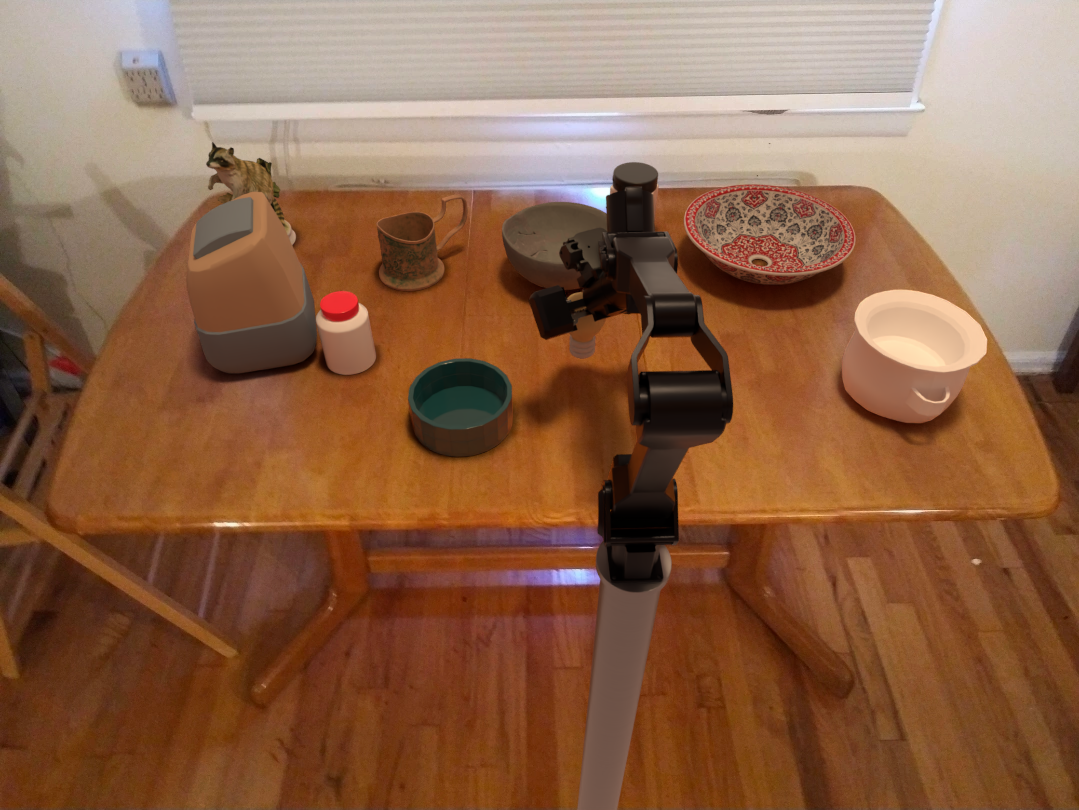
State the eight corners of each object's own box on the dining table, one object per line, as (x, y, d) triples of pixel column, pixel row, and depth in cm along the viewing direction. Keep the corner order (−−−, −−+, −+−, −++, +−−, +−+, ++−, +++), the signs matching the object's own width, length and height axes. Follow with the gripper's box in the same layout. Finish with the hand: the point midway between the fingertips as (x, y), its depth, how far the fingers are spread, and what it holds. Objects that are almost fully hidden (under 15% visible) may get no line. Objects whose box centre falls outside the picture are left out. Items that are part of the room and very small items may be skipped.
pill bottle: (335, 340, 125) (322, 284, 118) (382, 345, 124) (372, 288, 117) (319, 372, 120) (304, 315, 112) (368, 377, 119) (356, 320, 111)
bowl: (601, 322, 129) (605, 271, 122) (486, 298, 133) (483, 248, 126) (631, 257, 142) (636, 208, 135) (525, 237, 147) (525, 189, 140)
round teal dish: (513, 455, 108) (512, 428, 104) (408, 458, 107) (403, 430, 103) (512, 384, 118) (511, 357, 114) (417, 386, 117) (412, 359, 114)
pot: (817, 343, 125) (837, 280, 116) (926, 345, 124) (955, 282, 116) (851, 443, 109) (878, 379, 101) (976, 447, 109) (1014, 382, 100)
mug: (485, 266, 140) (482, 206, 132) (397, 298, 133) (388, 238, 125) (453, 237, 147) (448, 178, 139) (368, 267, 140) (357, 207, 132)
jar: (598, 226, 150) (602, 168, 141) (631, 213, 153) (636, 156, 145) (629, 247, 145) (634, 189, 136) (662, 234, 148) (669, 175, 140)
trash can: (214, 320, 129) (167, 193, 113) (317, 305, 132) (286, 179, 116) (210, 387, 117) (157, 256, 101) (323, 368, 120) (289, 238, 104)
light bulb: (605, 341, 116) (608, 284, 109) (602, 368, 112) (605, 311, 105) (562, 338, 117) (563, 282, 110) (558, 365, 112) (558, 308, 105)
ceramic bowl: (712, 207, 155) (718, 169, 150) (860, 247, 145) (873, 209, 139) (652, 281, 137) (657, 242, 131) (817, 333, 127) (829, 293, 121)
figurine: (215, 251, 144) (180, 148, 130) (266, 217, 152) (239, 117, 138) (262, 268, 140) (231, 164, 126) (312, 233, 148) (288, 132, 134)
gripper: (666, 205, 99) (617, 242, 114) (533, 240, 93) (500, 274, 108) (694, 289, 99) (642, 314, 114) (562, 329, 93) (526, 350, 108)
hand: (578, 311), depth 111 cm, fingers closed on light bulb, 6 cm apart
